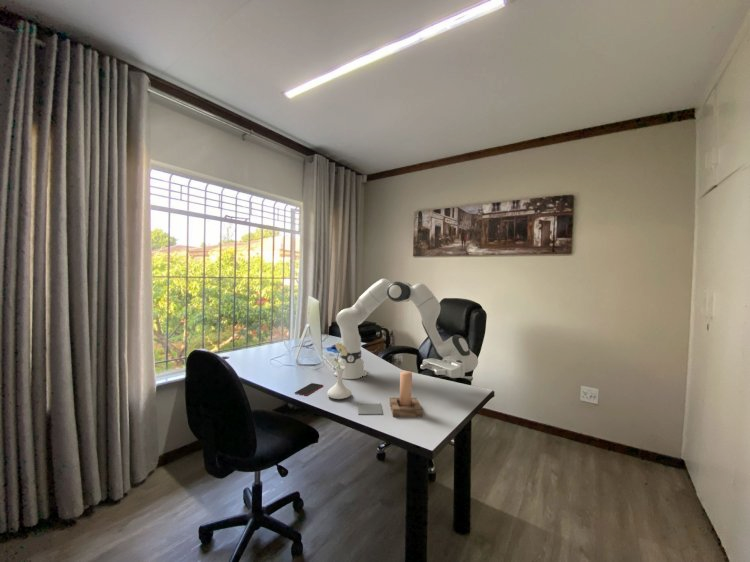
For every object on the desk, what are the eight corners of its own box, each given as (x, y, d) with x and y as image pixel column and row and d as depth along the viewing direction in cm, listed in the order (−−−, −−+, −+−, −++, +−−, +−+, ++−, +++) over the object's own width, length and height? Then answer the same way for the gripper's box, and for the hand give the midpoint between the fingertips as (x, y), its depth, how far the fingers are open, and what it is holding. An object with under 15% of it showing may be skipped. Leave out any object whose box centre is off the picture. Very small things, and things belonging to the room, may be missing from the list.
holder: (389, 404, 134) (389, 397, 134) (416, 404, 135) (416, 397, 135) (393, 416, 122) (393, 409, 122) (422, 416, 123) (422, 409, 123)
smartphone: (293, 392, 144) (311, 382, 158) (293, 394, 144) (311, 384, 158) (306, 395, 141) (323, 384, 155) (306, 397, 141) (323, 386, 155)
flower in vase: (354, 399, 138) (355, 345, 138) (330, 402, 134) (331, 346, 134) (346, 389, 151) (347, 339, 150) (323, 392, 146) (325, 341, 146)
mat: (358, 404, 133) (358, 403, 133) (380, 404, 134) (380, 403, 134) (358, 414, 123) (358, 413, 123) (382, 414, 124) (382, 413, 124)
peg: (398, 407, 131) (399, 371, 130) (409, 407, 131) (410, 371, 131) (400, 412, 126) (401, 374, 125) (412, 412, 126) (413, 374, 126)
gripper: (435, 354, 150) (413, 357, 143) (467, 364, 133) (444, 368, 126) (435, 366, 150) (413, 370, 143) (467, 378, 133) (444, 383, 126)
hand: (428, 369), depth 134 cm, fingers open, 8 cm apart
